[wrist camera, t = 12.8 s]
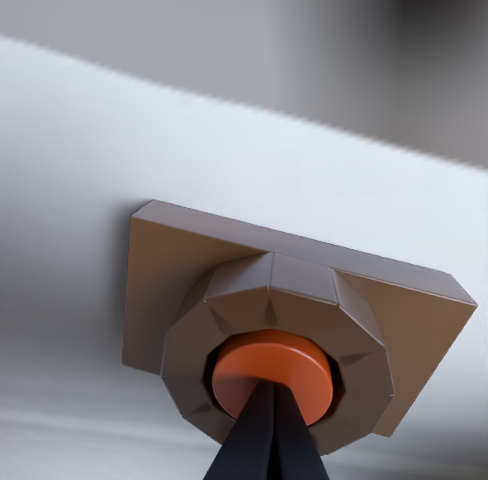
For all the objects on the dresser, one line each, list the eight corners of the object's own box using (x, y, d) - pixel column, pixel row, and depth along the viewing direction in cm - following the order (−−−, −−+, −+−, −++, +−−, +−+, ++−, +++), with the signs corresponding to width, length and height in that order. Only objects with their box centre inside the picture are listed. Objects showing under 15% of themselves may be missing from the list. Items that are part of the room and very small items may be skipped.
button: (341, 317, 9) (351, 364, 8) (308, 392, 10) (311, 444, 9) (234, 290, 9) (222, 330, 8) (216, 367, 11) (202, 414, 9)
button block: (451, 272, 10) (524, 352, 7) (377, 398, 13) (406, 497, 10) (153, 197, 10) (93, 240, 7) (141, 335, 13) (93, 410, 10)
